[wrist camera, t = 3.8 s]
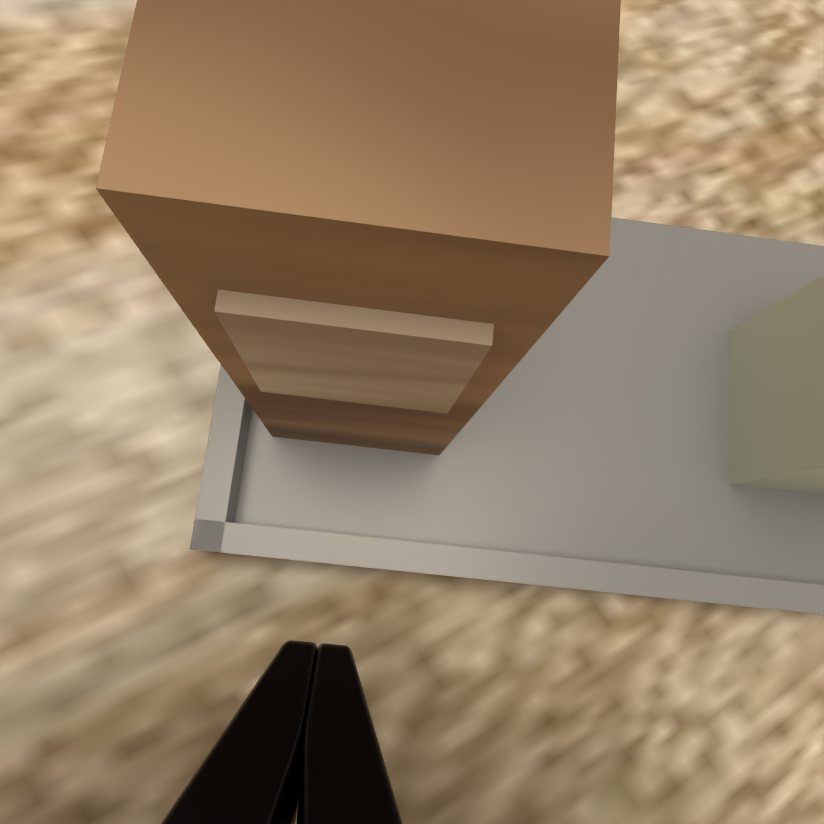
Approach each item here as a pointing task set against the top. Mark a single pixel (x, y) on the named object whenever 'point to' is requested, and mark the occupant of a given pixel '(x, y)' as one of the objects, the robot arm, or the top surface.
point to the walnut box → (367, 195)
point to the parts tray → (560, 452)
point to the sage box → (779, 395)
